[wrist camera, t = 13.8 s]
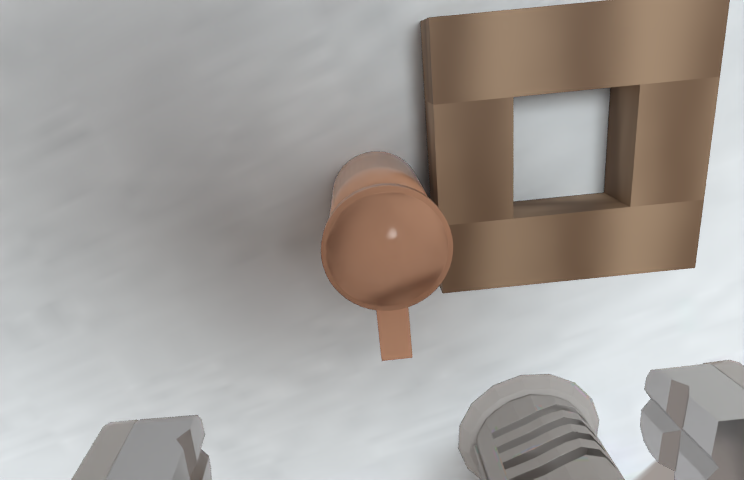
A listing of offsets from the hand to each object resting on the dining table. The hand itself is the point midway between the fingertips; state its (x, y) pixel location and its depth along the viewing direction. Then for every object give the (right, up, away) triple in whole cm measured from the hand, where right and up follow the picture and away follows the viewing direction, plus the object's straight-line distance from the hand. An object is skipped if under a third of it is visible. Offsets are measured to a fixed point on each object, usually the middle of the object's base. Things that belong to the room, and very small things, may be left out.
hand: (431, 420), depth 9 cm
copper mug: (-1, +4, +21) cm, 21 cm away
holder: (+9, +9, +20) cm, 23 cm away
